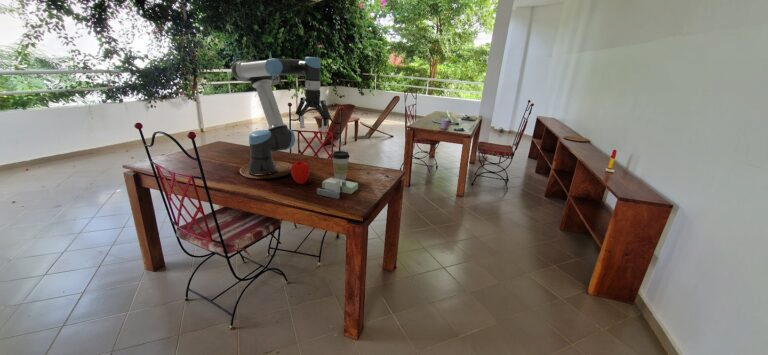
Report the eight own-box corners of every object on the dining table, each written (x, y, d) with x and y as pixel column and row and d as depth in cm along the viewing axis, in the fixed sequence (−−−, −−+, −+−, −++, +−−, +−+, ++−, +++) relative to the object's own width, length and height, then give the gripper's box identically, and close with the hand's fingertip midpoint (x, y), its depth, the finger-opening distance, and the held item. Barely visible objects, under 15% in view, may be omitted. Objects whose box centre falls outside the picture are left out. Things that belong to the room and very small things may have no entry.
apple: (288, 181, 179) (287, 160, 175) (305, 178, 184) (304, 157, 180) (295, 187, 171) (294, 165, 167) (312, 184, 177) (312, 162, 173)
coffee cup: (346, 182, 182) (346, 156, 177) (329, 180, 184) (329, 154, 179) (351, 176, 191) (351, 151, 186) (335, 174, 193) (335, 150, 188)
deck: (312, 193, 166) (312, 182, 164) (329, 182, 180) (330, 173, 178) (342, 200, 160) (342, 189, 158) (357, 188, 175) (358, 178, 173)
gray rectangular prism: (330, 190, 170) (330, 177, 168) (340, 192, 168) (340, 179, 166) (325, 194, 165) (325, 181, 163) (334, 196, 164) (334, 183, 161)
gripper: (288, 86, 169) (289, 127, 176) (330, 92, 161) (329, 135, 168) (297, 86, 175) (297, 125, 183) (337, 91, 167) (336, 132, 175)
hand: (312, 130), depth 175 cm, fingers open, 13 cm apart
